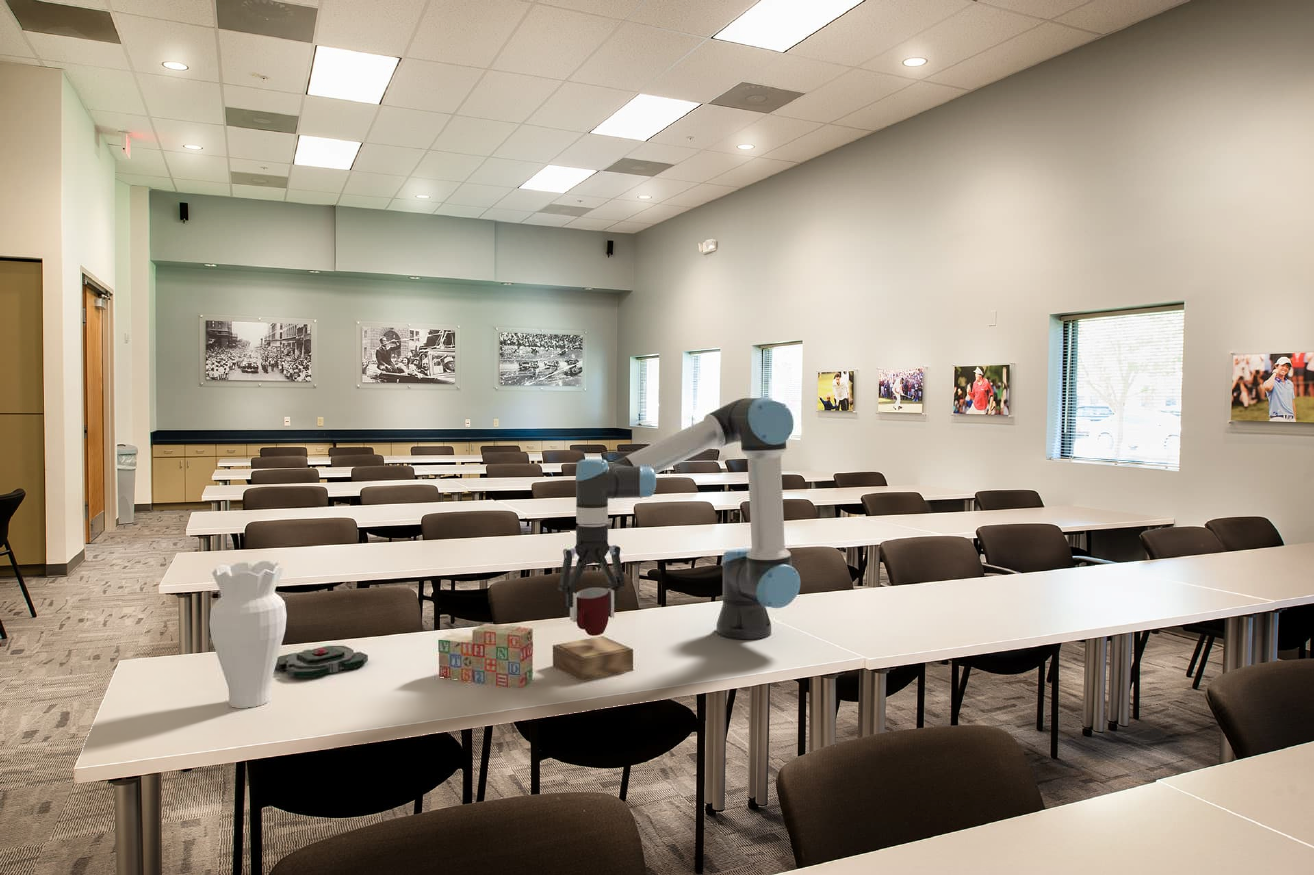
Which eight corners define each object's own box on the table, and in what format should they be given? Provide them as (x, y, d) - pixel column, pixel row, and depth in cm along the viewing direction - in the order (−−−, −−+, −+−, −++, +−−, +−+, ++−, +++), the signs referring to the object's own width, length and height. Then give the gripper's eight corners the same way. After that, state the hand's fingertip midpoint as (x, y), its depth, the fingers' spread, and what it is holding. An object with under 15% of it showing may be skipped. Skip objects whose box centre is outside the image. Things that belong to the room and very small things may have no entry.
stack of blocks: (438, 679, 194) (437, 626, 194) (453, 671, 200) (452, 619, 200) (520, 689, 187) (519, 634, 187) (533, 680, 193) (533, 627, 193)
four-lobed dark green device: (374, 667, 204) (373, 648, 204) (300, 685, 191) (299, 665, 191) (339, 653, 216) (338, 635, 216) (267, 669, 203) (267, 650, 203)
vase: (237, 719, 169) (234, 575, 168) (196, 706, 177) (193, 568, 176) (302, 698, 181) (300, 563, 180) (261, 686, 189) (259, 557, 188)
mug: (599, 644, 195) (595, 603, 194) (568, 642, 198) (564, 601, 197) (617, 627, 205) (614, 588, 204) (588, 625, 208) (584, 586, 207)
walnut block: (602, 655, 212) (602, 635, 211) (633, 670, 200) (633, 648, 200) (552, 665, 204) (552, 644, 203) (581, 681, 192) (581, 658, 192)
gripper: (627, 520, 209) (627, 610, 209) (543, 525, 200) (544, 619, 200) (639, 523, 202) (639, 617, 203) (553, 529, 193) (553, 627, 193)
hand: (592, 618), depth 201 cm, fingers closed on mug, 9 cm apart
